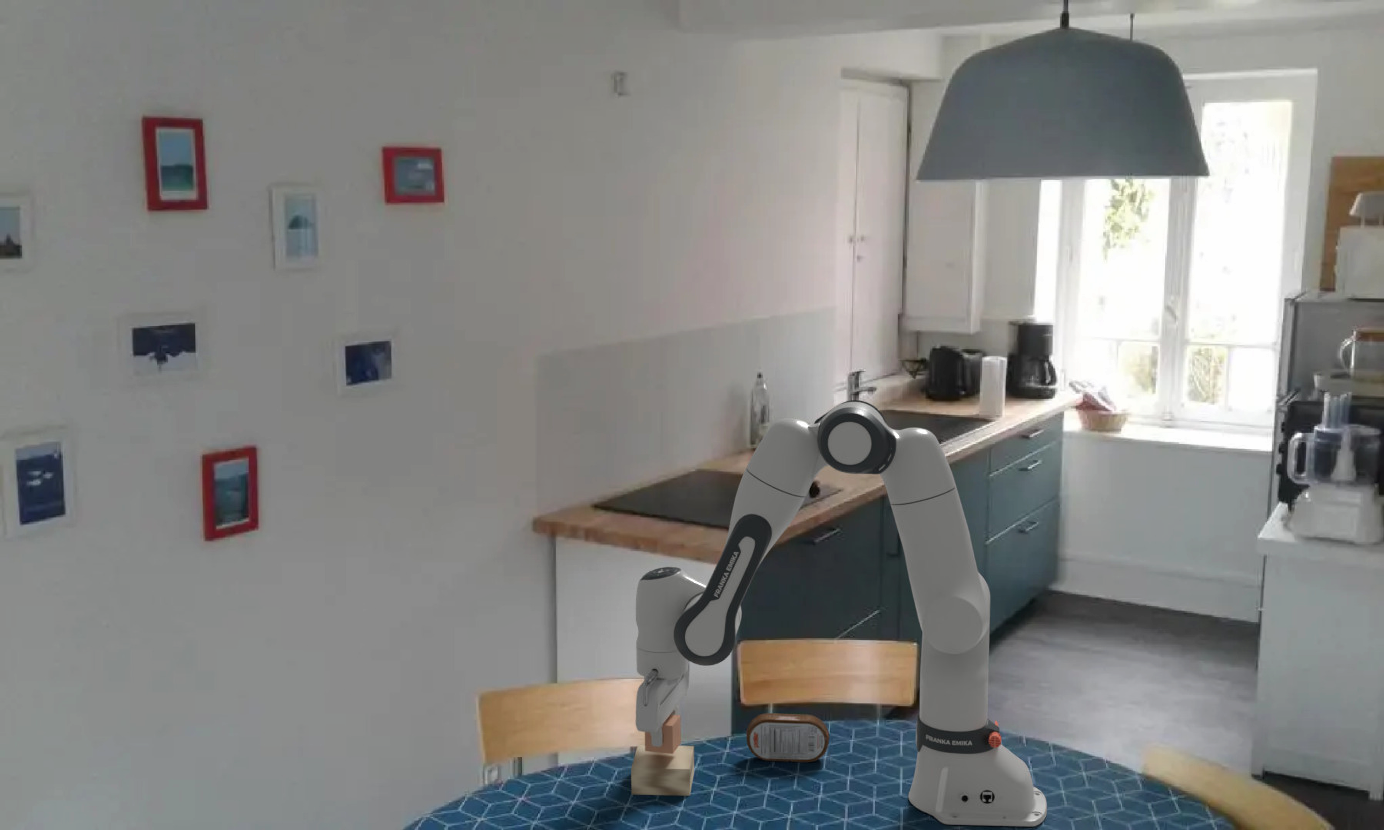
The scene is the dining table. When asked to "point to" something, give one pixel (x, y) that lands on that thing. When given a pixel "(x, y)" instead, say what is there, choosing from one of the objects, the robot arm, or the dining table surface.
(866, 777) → the dining table surface
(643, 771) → the base block
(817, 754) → the tin
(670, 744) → the cube
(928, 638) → the robot arm
